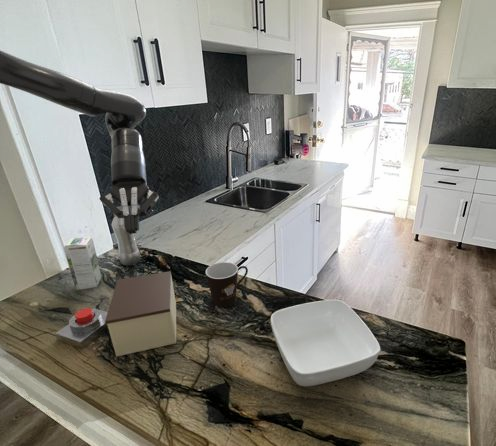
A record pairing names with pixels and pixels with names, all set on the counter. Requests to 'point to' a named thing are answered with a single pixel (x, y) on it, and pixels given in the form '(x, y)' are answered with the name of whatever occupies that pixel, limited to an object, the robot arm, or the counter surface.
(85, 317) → the button
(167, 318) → the cream hinged box
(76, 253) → the syrup box
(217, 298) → the coffee mug
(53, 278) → the counter surface
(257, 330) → the counter surface
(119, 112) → the robot arm
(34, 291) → the counter surface
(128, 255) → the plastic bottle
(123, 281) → the lid
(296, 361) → the bowl
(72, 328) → the control block
